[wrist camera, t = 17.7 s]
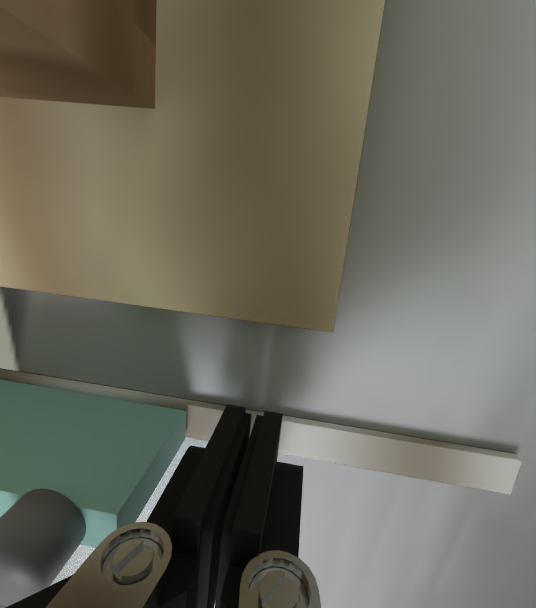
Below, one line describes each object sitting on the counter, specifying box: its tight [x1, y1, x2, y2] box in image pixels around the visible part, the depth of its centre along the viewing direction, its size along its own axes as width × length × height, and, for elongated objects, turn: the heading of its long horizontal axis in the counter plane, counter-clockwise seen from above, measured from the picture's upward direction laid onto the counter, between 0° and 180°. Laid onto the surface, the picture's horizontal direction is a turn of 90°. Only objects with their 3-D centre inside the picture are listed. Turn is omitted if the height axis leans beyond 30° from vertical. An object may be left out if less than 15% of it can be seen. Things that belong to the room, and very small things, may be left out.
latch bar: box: [0, 379, 186, 607], centre depth 9 cm, size 8×2×5 cm, turn 84°
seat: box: [0, 0, 522, 495], centre depth 7 cm, size 22×21×4 cm
